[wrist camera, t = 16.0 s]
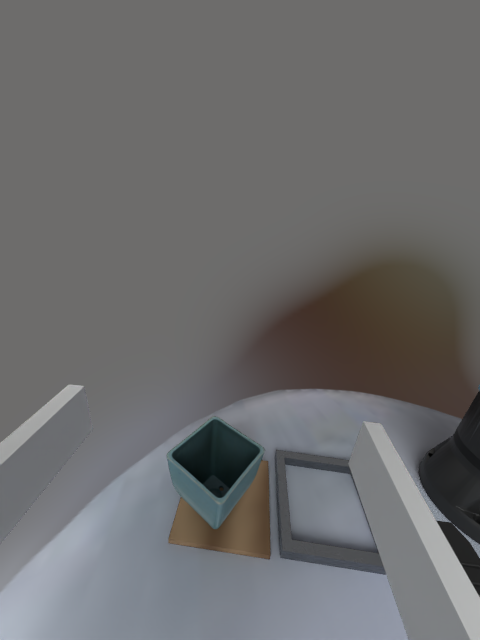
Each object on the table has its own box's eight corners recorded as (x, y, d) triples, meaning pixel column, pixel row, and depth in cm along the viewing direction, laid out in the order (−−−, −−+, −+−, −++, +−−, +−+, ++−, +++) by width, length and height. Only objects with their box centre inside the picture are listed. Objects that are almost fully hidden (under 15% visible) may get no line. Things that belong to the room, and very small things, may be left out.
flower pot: (211, 457, 39) (214, 413, 36) (258, 494, 34) (266, 448, 31) (166, 503, 32) (164, 454, 29) (216, 556, 28) (221, 506, 24)
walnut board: (267, 464, 40) (268, 461, 39) (269, 559, 29) (270, 555, 28) (194, 454, 40) (194, 450, 40) (168, 543, 29) (168, 539, 29)
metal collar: (355, 468, 41) (358, 461, 40) (396, 576, 28) (401, 569, 28) (275, 456, 41) (276, 450, 41) (280, 557, 29) (282, 550, 28)
